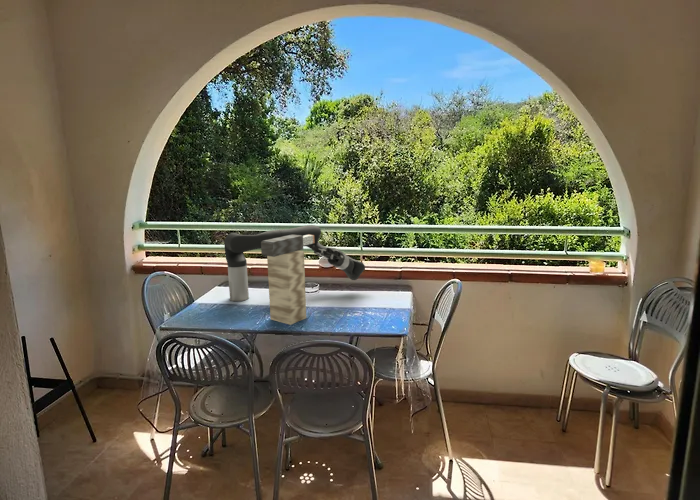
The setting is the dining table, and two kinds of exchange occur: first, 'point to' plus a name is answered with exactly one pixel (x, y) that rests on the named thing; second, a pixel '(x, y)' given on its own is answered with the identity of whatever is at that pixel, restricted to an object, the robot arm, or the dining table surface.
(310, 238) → the light grey bar
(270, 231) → the robot arm
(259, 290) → the dining table surface
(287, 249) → the stand
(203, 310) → the dining table surface
